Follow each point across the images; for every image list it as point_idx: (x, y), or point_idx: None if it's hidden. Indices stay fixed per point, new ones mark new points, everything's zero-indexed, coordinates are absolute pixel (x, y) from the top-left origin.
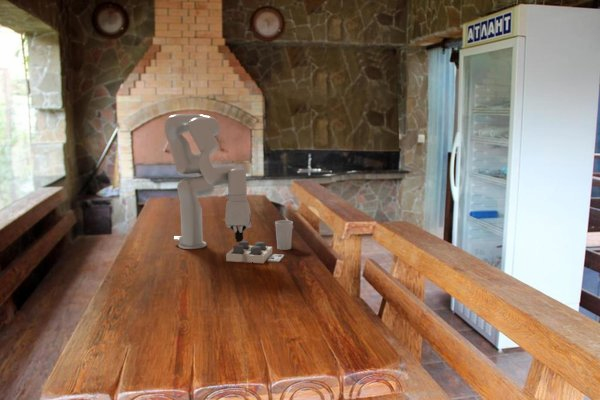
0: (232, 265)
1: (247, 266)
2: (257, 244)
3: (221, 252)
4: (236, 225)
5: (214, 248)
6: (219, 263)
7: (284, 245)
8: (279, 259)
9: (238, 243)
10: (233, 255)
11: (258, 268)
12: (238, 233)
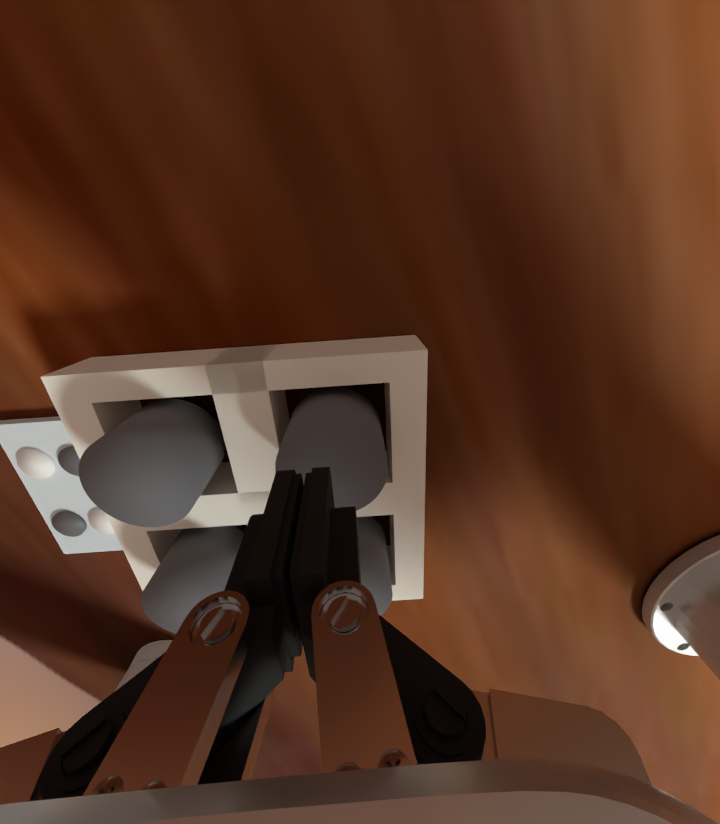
0: (310, 215)
1: (160, 222)
2: (194, 572)
3: (513, 519)
4: (224, 797)
5: (578, 577)
6: (451, 247)
7: (139, 670)
8: (10, 451)
9: (385, 571)
10: (349, 352)
11: (22, 182)
12: (276, 569)
